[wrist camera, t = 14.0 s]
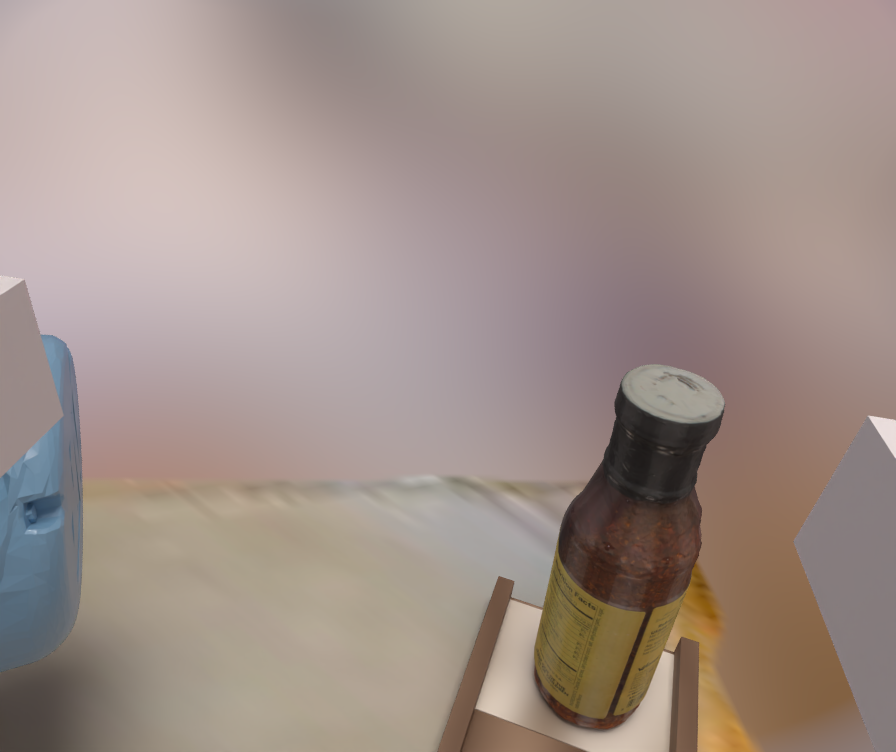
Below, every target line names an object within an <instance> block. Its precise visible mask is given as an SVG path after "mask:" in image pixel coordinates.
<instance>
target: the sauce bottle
mask: <svg viewBox="0 0 896 752" xmlns="http://www.w3.org/2000/svg"><path fill="white" fill-rule="evenodd" d="M724 407H725V402H724V399H723V397H722V395H721V393H720V392H719V390H718V389H717V388H716V387H715V386H714V385H712V384H711V383H710V382H708V381H707V380H706V379H705V378H702V377H700V376H698V375H696V374H694V373H692V372H689V371H686V370H681V369H678V368H674V367H671V366H665V365H658V364H652V365H644V366H641V367H638V368H635V369H633V370H631V371H629V372H627V373H626V375H625V376H624V377H623V379H622V381H621V384H620V388H619V391H618V393H617V397H616V399H615V413H616V416H617V417H616V420H615V422H614V428H613V432H612V436H611V439H610V443H609V445H608V447H607V448H606V451H605V454H604V459H603V461H602V463H601V464H600V466H599V467H598V469H597V470H596V472H595V473H594V475H593V476H592V478H591V479H590V481H589V483H588V484H587V486H586V487H585V489H584V490H583V491H582V492H581V493H580V494H579V495H577V496H576V497H575V499H574V500H573V501H572V502H571V504H570V505H569V507H568V509H567V510H566V512H565V514H564V517H563V520H562V523H561V527H560V532H559V537H558V541H557V546H556V551H555V556H554V561H553V566H552V570H551V575H550V579H549V584H548V588H547V593H546V597H545V602H544V606H543V610H542V615H541V619H540V624H539V628H538V633H537V637H536V642H535V646H534V660H535V668H534V676H535V680H536V683H537V685H538V687H539V689H540V691H541V692H542V695H543V697H544V698H545V699H546V701H547V702H548V703H549V705H550V707H551V708H553V709H554V711H555V712H556V713H557V714H558V715H559V716H560V717H562V718H563V719H564V720H567V721H569V722H572V723H574V724H576V725H579V726H584V727H588V728H598V729H609V728H613V727H616V726H618V725H620V724H622V723H623V722H625V721H626V720H627V719H628V718H629V717H630V716H631V715H632V714H633V713H634V712H635V710H636V709H637V708H638V707H639V705H640V702H641V701H642V700H643V699H644V697H645V695H646V693H647V691H648V688H649V686H650V683H651V680H652V678H653V676H654V673H655V671H656V668H657V666H658V663H659V660H660V658H661V655H662V653H663V650H664V647H665V645H666V642H667V640H668V637H669V635H670V632H671V630H672V627H673V624H674V622H675V619H676V617H677V614H678V612H679V610H680V607H681V604H682V602H683V599H684V597H685V594H686V592H687V589H688V587H689V584H690V580H691V573H692V569H693V567H694V564H695V562H696V560H697V558H698V556H699V551H700V548H701V544H702V542H701V530H700V522H701V516H702V508H701V506H700V503H699V501H698V497H697V494H696V490H695V487H694V486H695V484H696V481H697V470H698V468H699V465H700V462H701V459H702V456H703V453H704V451H705V449H706V445H707V444H708V443H709V442H710V441H711V440H712V439H713V438H714V437H715V436H716V434H717V433H718V431H719V428H720V425H721V420H722V417H723V413H724Z"/></svg>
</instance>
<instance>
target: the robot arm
mask: <svg viewBox="0 0 896 752" xmlns="http://www.w3.org/2000/svg"><path fill="white" fill-rule="evenodd" d="M794 544H795V546H796V549H797V552H798V554H799V557H800V559H801V562H802V565H803V567H804V570H805V572H806V575H807V577H808V580H809V583H810V585H811V588H812V590H813V593H814V595H815V598H816V600H817V603H818V605H819V608H820V611H821V613H822V616H823V618H824V621H825V624H826V626H827V629H828V631H829V634H830V636H831V639H832V642H833V644H834V647H835V649H836V652H837V654H838V657H839V660H840V662H841V665H842V667H843V670H844V672H845V675H846V677H847V680H848V683H849V685H850V688H851V690H852V693H853V695H854V698H855V701H856V703H857V706H858V708H859V711H860V713H861V716H862V719H863V721H864V724H865V726H866V729H867V731H868V734H869V736H870V739H871V741H872V744H873V747H874V749H875V752H896V420H892V419H885V418H879V417H873V416H868V417H867V418H866V420H865V422H864V423H863V425H862V427H861V428H860V430H859V432H858V433H857V435H856V437H855V438H854V440H853V442H852V444H851V445H850V447H849V448H848V450H847V452H846V454H845V455H844V457H843V459H842V460H841V462H840V464H839V465H838V467H837V469H836V470H835V472H834V474H833V476H832V477H831V479H830V481H829V482H828V484H827V486H826V488H825V489H824V491H823V493H822V494H821V496H820V497H819V499H818V501H817V502H816V504H815V506H814V508H813V509H812V511H811V513H810V514H809V516H808V518H807V520H806V521H805V523H804V524H803V526H802V528H801V530H800V531H799V533H798V535H797V536H796V538H795V540H794ZM82 554H83V488H82V457H81V438H80V420H79V406H78V394H77V384H76V376H75V370H74V364H73V358H72V356H71V353H70V351H69V349H68V348H67V345H66V343H65V342H63V341H62V340H60V339H59V338H57V337H55V336H53V335H40V331H39V328H38V325H37V321H36V318H35V314H34V311H33V307H32V304H31V300H30V297H29V293H28V290H27V287H26V283H25V280H24V279H19V278H12V277H6V276H1V275H0V672H3V671H6V670H10V669H13V668H17V667H20V666H23V665H27V664H30V663H33V662H36V661H38V660H40V659H42V658H44V657H46V656H47V655H49V654H50V653H52V652H53V651H55V650H56V649H57V648H58V647H59V646H60V645H61V644H62V643H63V642H64V640H65V639H66V638H67V636H68V635H69V633H70V632H71V630H72V628H73V626H74V624H75V620H76V617H77V613H78V609H79V603H80V594H81V579H82Z"/></svg>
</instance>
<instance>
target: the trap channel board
mask: <svg viewBox="0 0 896 752" xmlns="http://www.w3.org/2000/svg"><path fill="white" fill-rule="evenodd" d="M513 585H514V581H512V580H509V579H506V578H503V577H500V576H499V577H498V580H497V582H496V585H495V588H494V591H493V594H492V597H491V600H490V602H489V605H488V608H487V611H486V614H485V617H484V620H483V622H482V625H481V628H480V631H479V634H478V637H477V640H476V642H475V645H474V648H473V651H472V654H471V657H470V660H469V662H468V665H467V668H466V671H465V674H464V677H463V680H462V682H461V685H460V688H459V691H458V694H457V697H456V700H455V702H454V705H453V708H452V711H451V714H450V717H449V720H448V722H447V725H446V728H445V731H444V734H443V737H442V740H441V742H440V745H439V748H438V751H437V752H697V735H698V676H699V642H696V641H693V640H690V639H687V638H684V637H681V638H680V641H679V643H678V645H677V647H676V649H675V651H674V652H672V651H669V650H666V649H664V650H663V653H662V655H661V658H660V660H659V663H658V666H657V668H656V671H655V673H654V676H653V678H652V680H651V683H650V686H649V688H648V691H647V693H646V695H645V697H644V699H643V700H642V701H641V702H640V705H639V707H638V708H637V709H636V710H635V712H634V713H633V714H632V715H631V716H630V717H629V718H628V719H627V720H626V721H625V722H623V723H622V724H620V725H618V726H616V727H613V728H609V729H598V728H588V727H584V726H579V725H576V724H574V723H572V722H569V721H567V720H564V719H563V718H562V717H560V716H559V715H558V714H557V713H556V712H555V711H554V709H553V708H551V707H550V705H549V703H548V702H547V701H546V699H545V698H544V697H543V695H542V692H541V691H540V689H539V687H538V685H537V683H536V680H535V676H534V668H535V660H534V646H535V642H536V637H537V633H538V628H539V624H540V619H541V615H542V610H543V608H541V607H538V606H535V605H532V604H529V603H526V602H523V601H521V600H518V599H515V598H512V597H511V594H512V590H513Z"/></svg>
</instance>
